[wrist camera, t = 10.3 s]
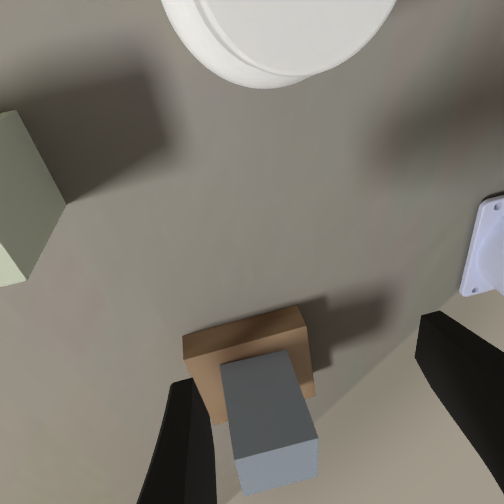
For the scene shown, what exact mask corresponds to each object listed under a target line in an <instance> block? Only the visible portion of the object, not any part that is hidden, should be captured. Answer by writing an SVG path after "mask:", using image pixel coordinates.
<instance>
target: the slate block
mask: <svg viewBox="0 0 504 504" xmlns="http://www.w3.org/2000/svg"><path fill="white" fill-rule="evenodd" d="M219 366H220V372H221V379H222V385H223V391H224V397H225V404H226V410H227V416H228V423H229V429H230V435H231V441H232V448H233V454H234V460H235V464H236V468H237V472H238V476H239V480H240V483H241V487H242V491H243V495H244V496H248V495H251V494H255V493H259V492H262V491H266V490H270V489H273V488H277V487H281V486H284V485H288V484H291V483H295V482H298V481H302V480H306V479H310V478H313V477H317V475H318V436H317V433H316V430H315V427H314V424H313V421H312V419H311V416H310V413H309V410H308V408H307V405H306V402H305V399H304V397H303V394H302V391H301V388H300V386H299V383H298V380H297V377H296V374H295V372H294V369H293V366H292V363H291V361H290V358H289V355H288V352H287V350H282V351H278V352H274V353H270V354H265V355H261V356H257V357H252V358H248V359H244V360H239V361H235V362H231V363H226V364H222V365H219Z"/></svg>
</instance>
